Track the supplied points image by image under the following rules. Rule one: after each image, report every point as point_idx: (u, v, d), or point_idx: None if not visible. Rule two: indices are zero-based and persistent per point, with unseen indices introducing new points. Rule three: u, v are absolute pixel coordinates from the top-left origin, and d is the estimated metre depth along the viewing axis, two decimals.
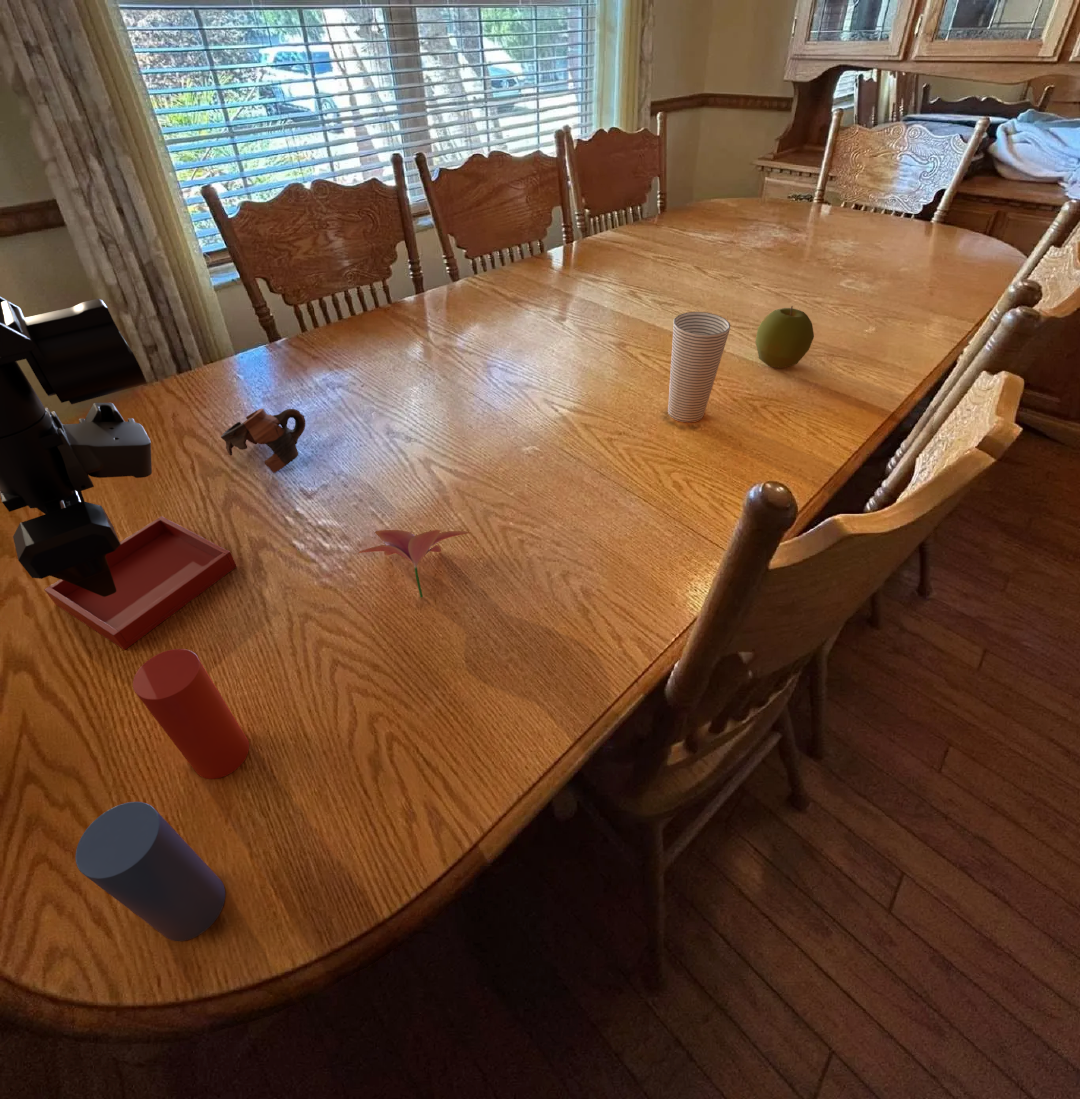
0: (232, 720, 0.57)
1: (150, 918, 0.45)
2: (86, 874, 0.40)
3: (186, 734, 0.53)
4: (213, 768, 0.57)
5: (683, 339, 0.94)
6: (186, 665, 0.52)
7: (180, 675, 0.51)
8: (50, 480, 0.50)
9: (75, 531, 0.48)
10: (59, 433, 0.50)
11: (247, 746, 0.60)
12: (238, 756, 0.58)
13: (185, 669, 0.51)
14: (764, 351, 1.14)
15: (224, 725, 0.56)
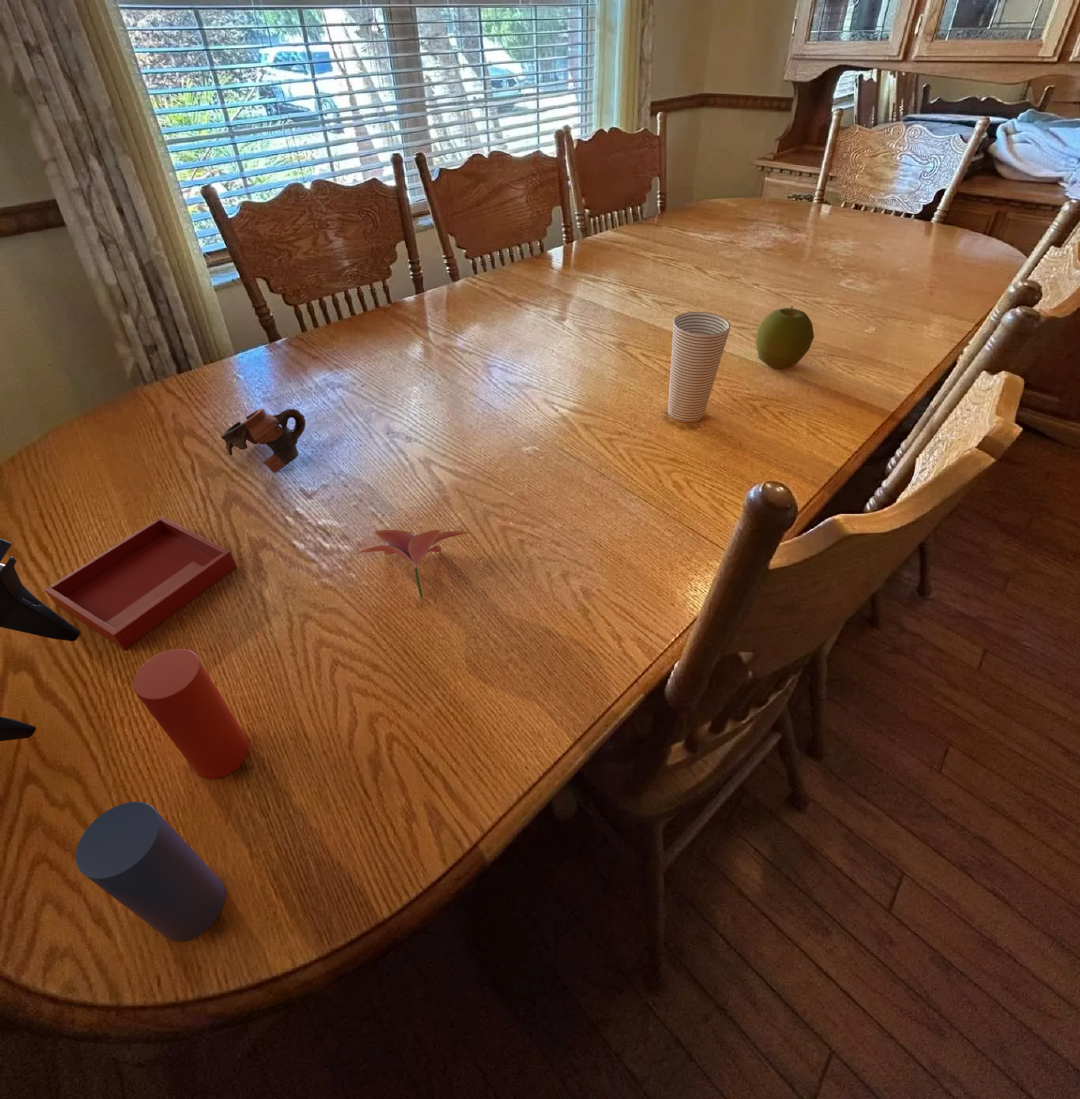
0: (232, 720, 0.57)
1: (150, 918, 0.45)
2: (86, 874, 0.40)
3: (186, 734, 0.53)
4: (213, 768, 0.57)
5: (683, 339, 0.94)
6: (186, 665, 0.52)
7: (180, 675, 0.51)
8: None
9: None
10: None
11: (247, 746, 0.60)
12: (238, 756, 0.58)
13: (185, 669, 0.51)
14: (764, 351, 1.14)
15: (224, 725, 0.56)
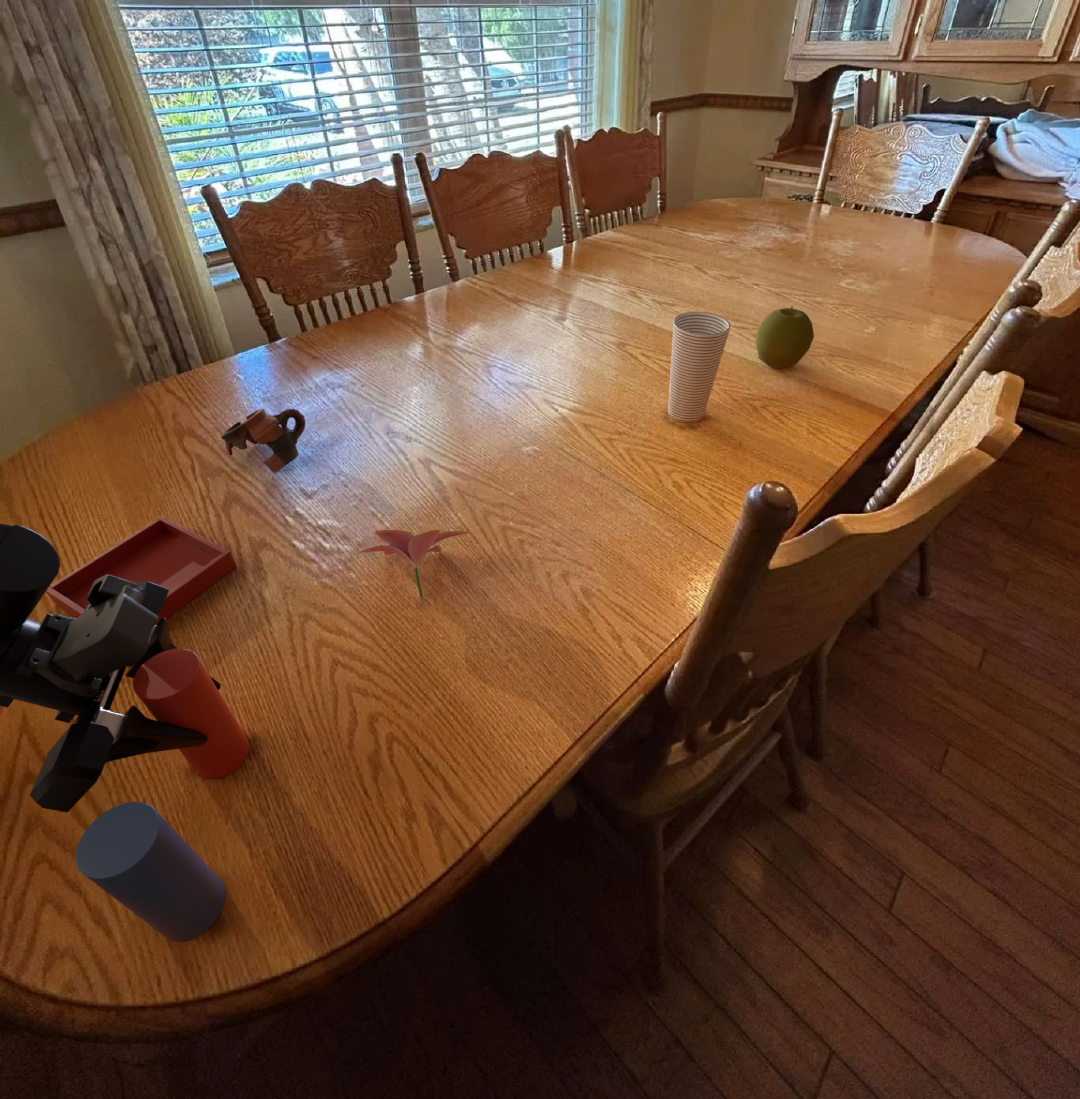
0: (232, 720, 0.57)
1: (150, 918, 0.45)
2: (86, 874, 0.40)
3: None
4: (213, 768, 0.57)
5: (683, 339, 0.94)
6: (186, 665, 0.52)
7: (180, 675, 0.51)
8: (61, 697, 0.47)
9: (48, 777, 0.43)
10: (28, 659, 0.45)
11: (247, 746, 0.60)
12: (238, 756, 0.58)
13: (185, 669, 0.51)
14: (764, 351, 1.14)
15: (224, 724, 0.56)
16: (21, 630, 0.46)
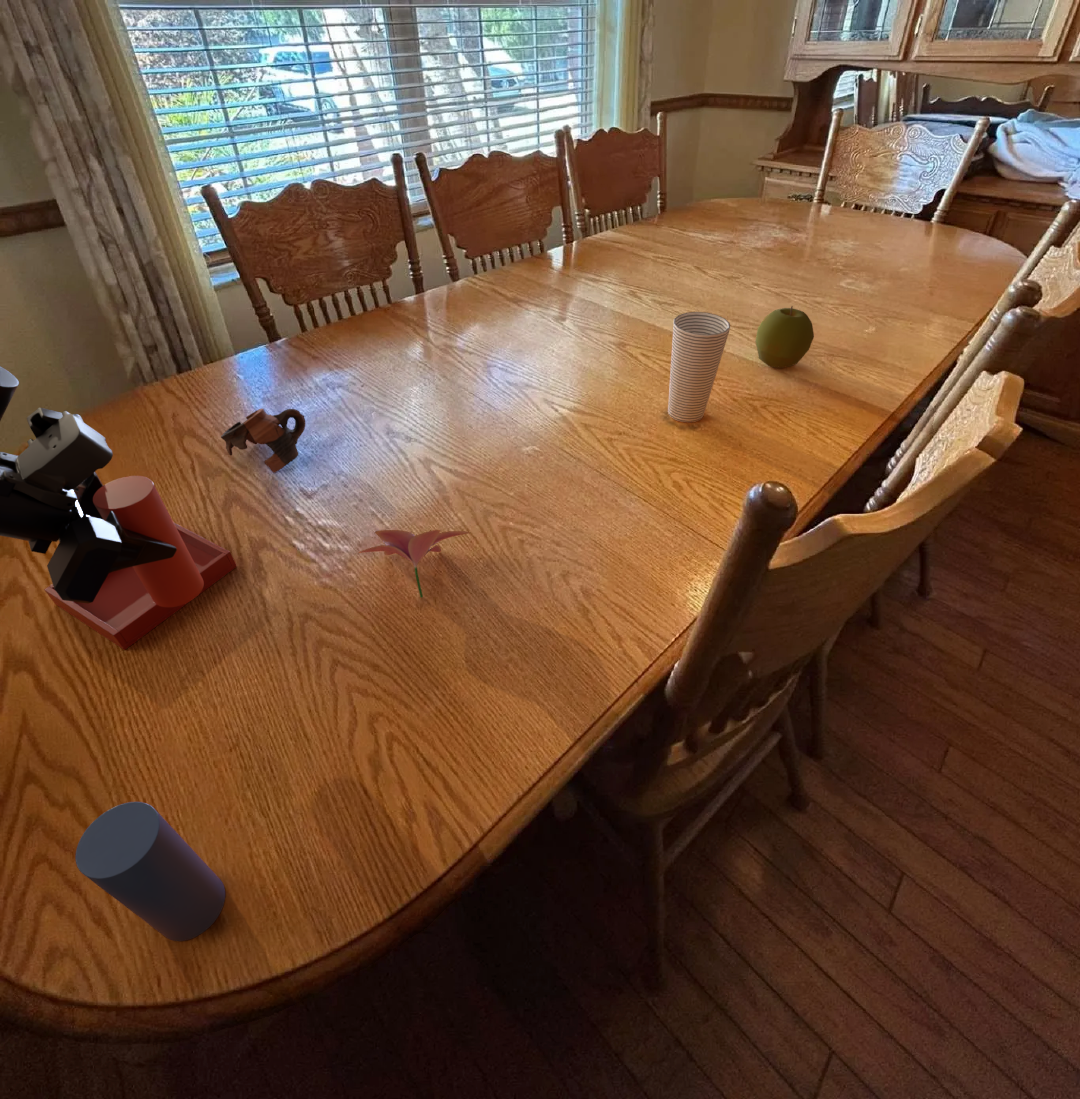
0: None
1: (150, 918, 0.45)
2: (86, 874, 0.40)
3: None
4: (182, 589, 0.64)
5: (683, 339, 0.94)
6: (138, 483, 0.58)
7: (138, 489, 0.58)
8: (41, 516, 0.52)
9: (74, 557, 0.49)
10: (4, 477, 0.49)
11: None
12: (198, 579, 0.66)
13: (140, 485, 0.58)
14: (764, 351, 1.14)
15: (182, 542, 0.63)
16: None
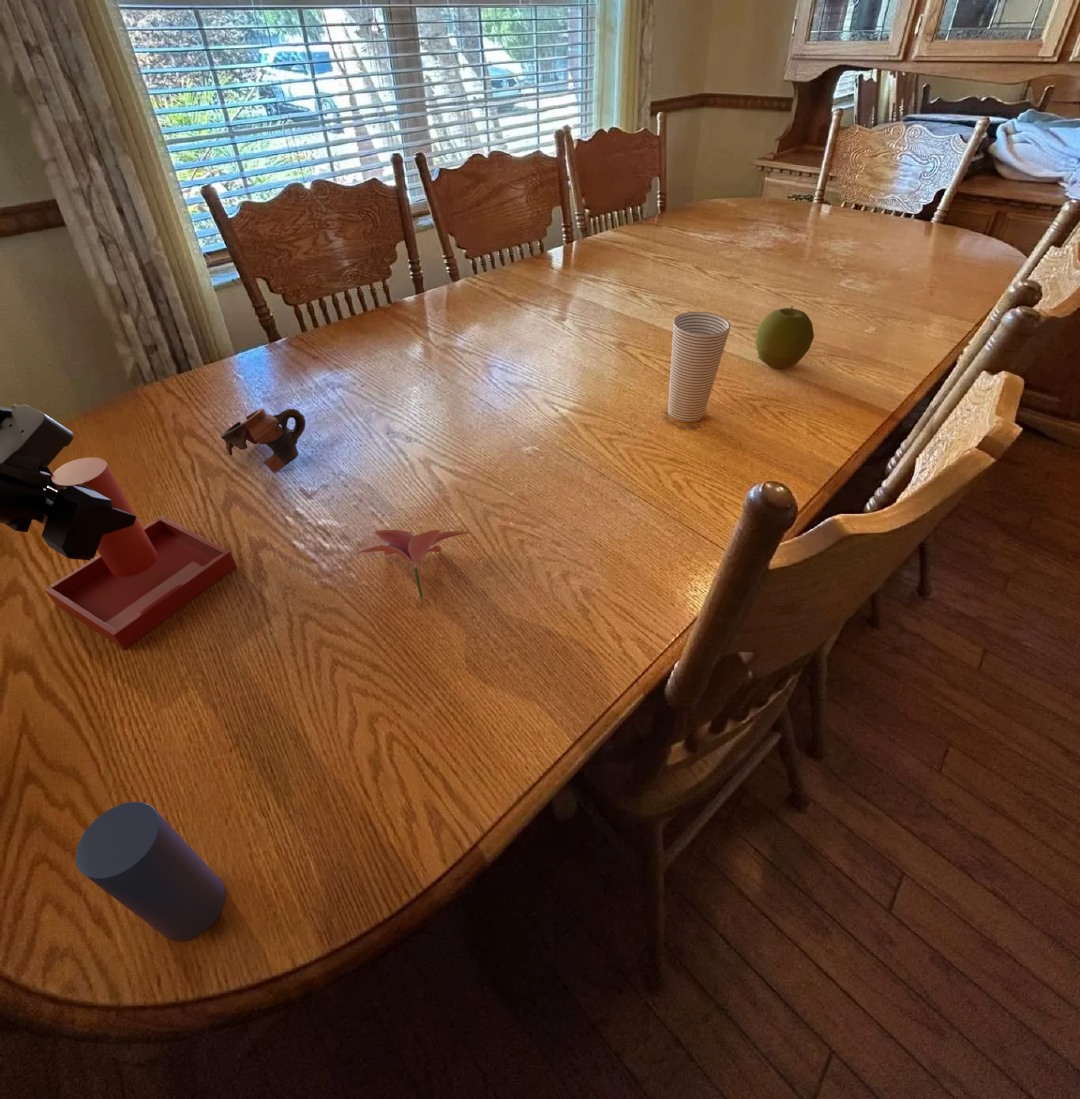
0: None
1: (150, 918, 0.45)
2: (86, 874, 0.40)
3: None
4: (143, 556, 0.72)
5: (683, 339, 0.94)
6: (89, 462, 0.66)
7: (92, 466, 0.65)
8: (23, 494, 0.58)
9: (76, 516, 0.57)
10: None
11: None
12: (153, 547, 0.74)
13: (92, 463, 0.66)
14: (764, 350, 1.14)
15: None
16: None
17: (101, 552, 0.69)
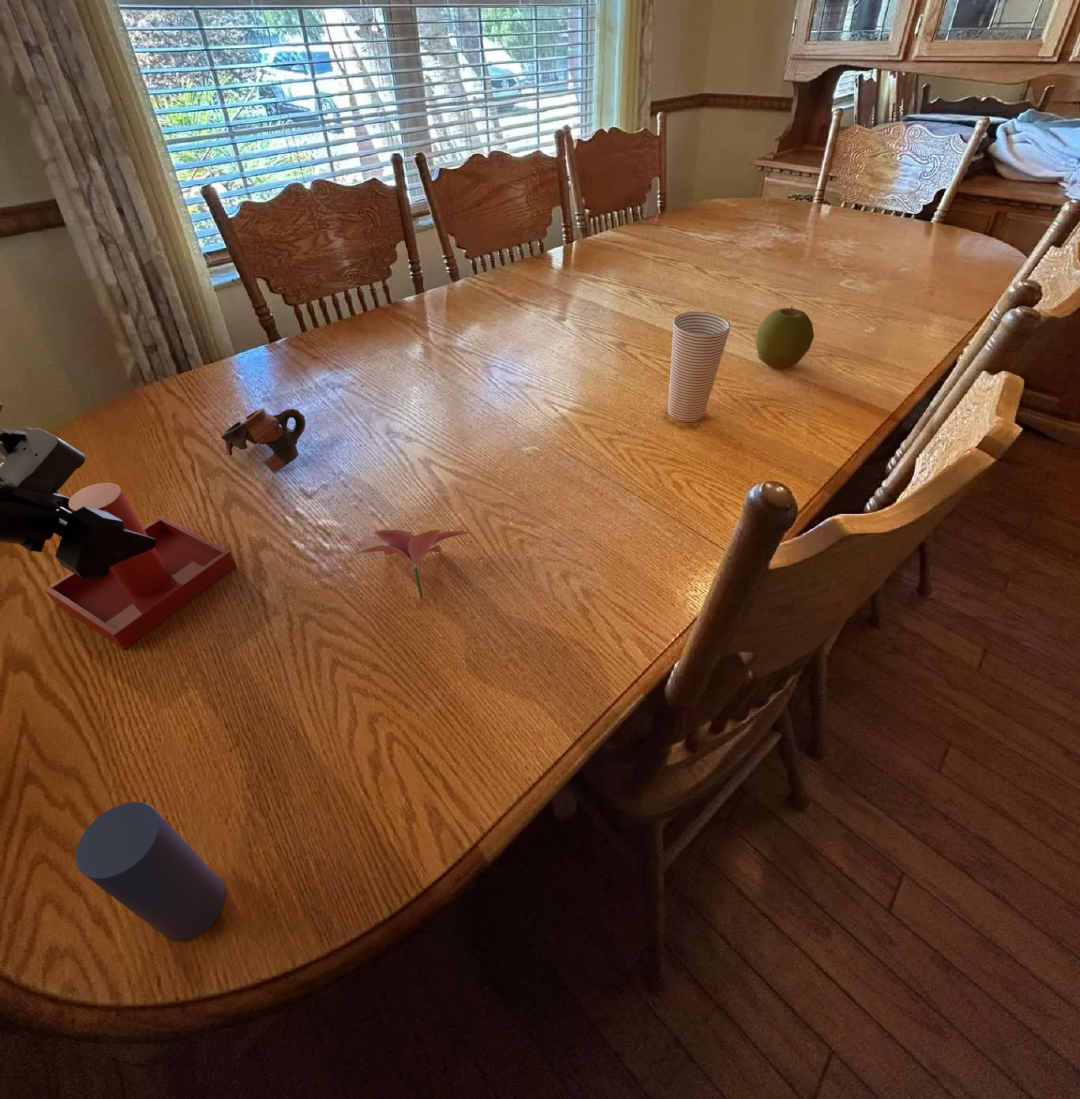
0: None
1: (150, 918, 0.45)
2: (86, 874, 0.40)
3: None
4: (156, 576, 0.74)
5: (683, 339, 0.94)
6: (104, 488, 0.68)
7: (107, 492, 0.68)
8: (37, 516, 0.60)
9: (89, 537, 0.59)
10: (2, 486, 0.57)
11: None
12: (165, 567, 0.76)
13: (107, 489, 0.68)
14: (764, 351, 1.14)
15: None
16: None
17: (115, 573, 0.72)
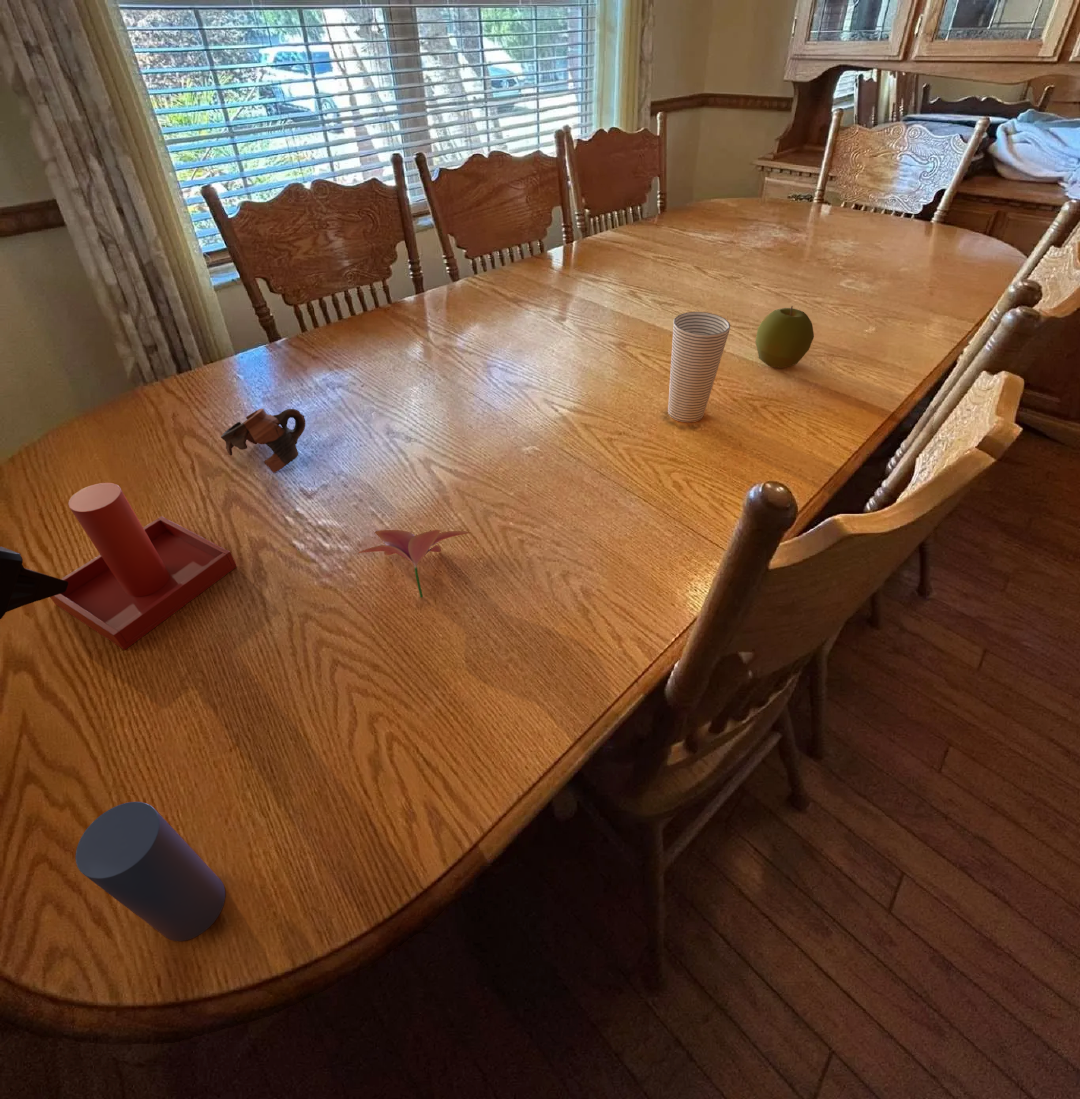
0: None
1: (150, 918, 0.45)
2: (86, 874, 0.40)
3: (133, 540, 0.70)
4: (156, 576, 0.74)
5: (683, 339, 0.94)
6: (104, 488, 0.68)
7: (107, 492, 0.68)
8: None
9: None
10: None
11: None
12: (165, 567, 0.76)
13: (107, 489, 0.68)
14: (764, 350, 1.14)
15: (147, 536, 0.73)
16: None
17: (115, 573, 0.72)
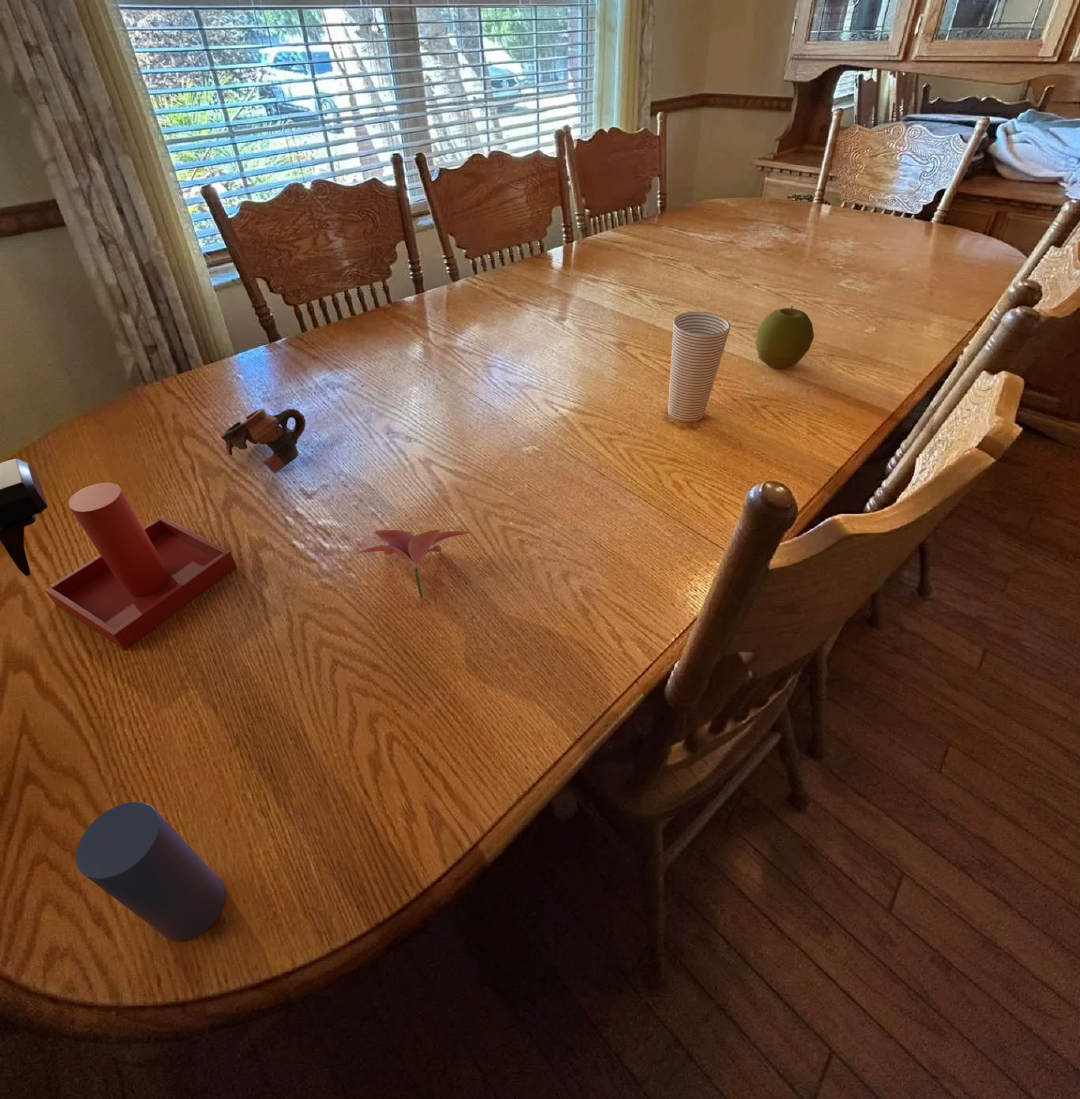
0: None
1: (150, 918, 0.45)
2: (86, 874, 0.40)
3: (133, 540, 0.70)
4: (156, 576, 0.74)
5: (683, 339, 0.94)
6: (104, 488, 0.68)
7: (107, 492, 0.68)
8: None
9: (20, 465, 0.55)
10: None
11: None
12: (165, 567, 0.76)
13: (107, 489, 0.68)
14: (764, 351, 1.14)
15: (147, 536, 0.73)
16: None
17: (115, 573, 0.72)
